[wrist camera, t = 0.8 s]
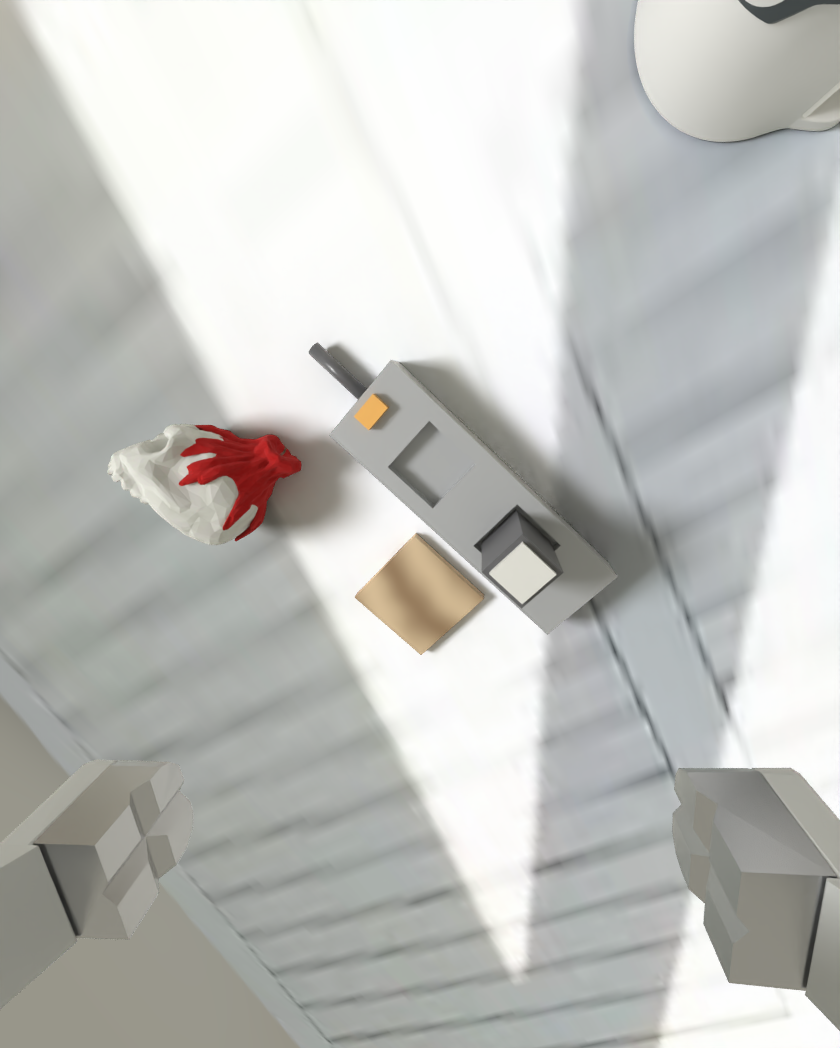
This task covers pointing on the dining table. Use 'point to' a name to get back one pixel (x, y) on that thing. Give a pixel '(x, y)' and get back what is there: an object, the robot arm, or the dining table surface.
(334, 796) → the dining table surface
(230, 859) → the dining table surface
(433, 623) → the cork coaster
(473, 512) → the power strip
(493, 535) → the block
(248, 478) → the white red lumpy piece
